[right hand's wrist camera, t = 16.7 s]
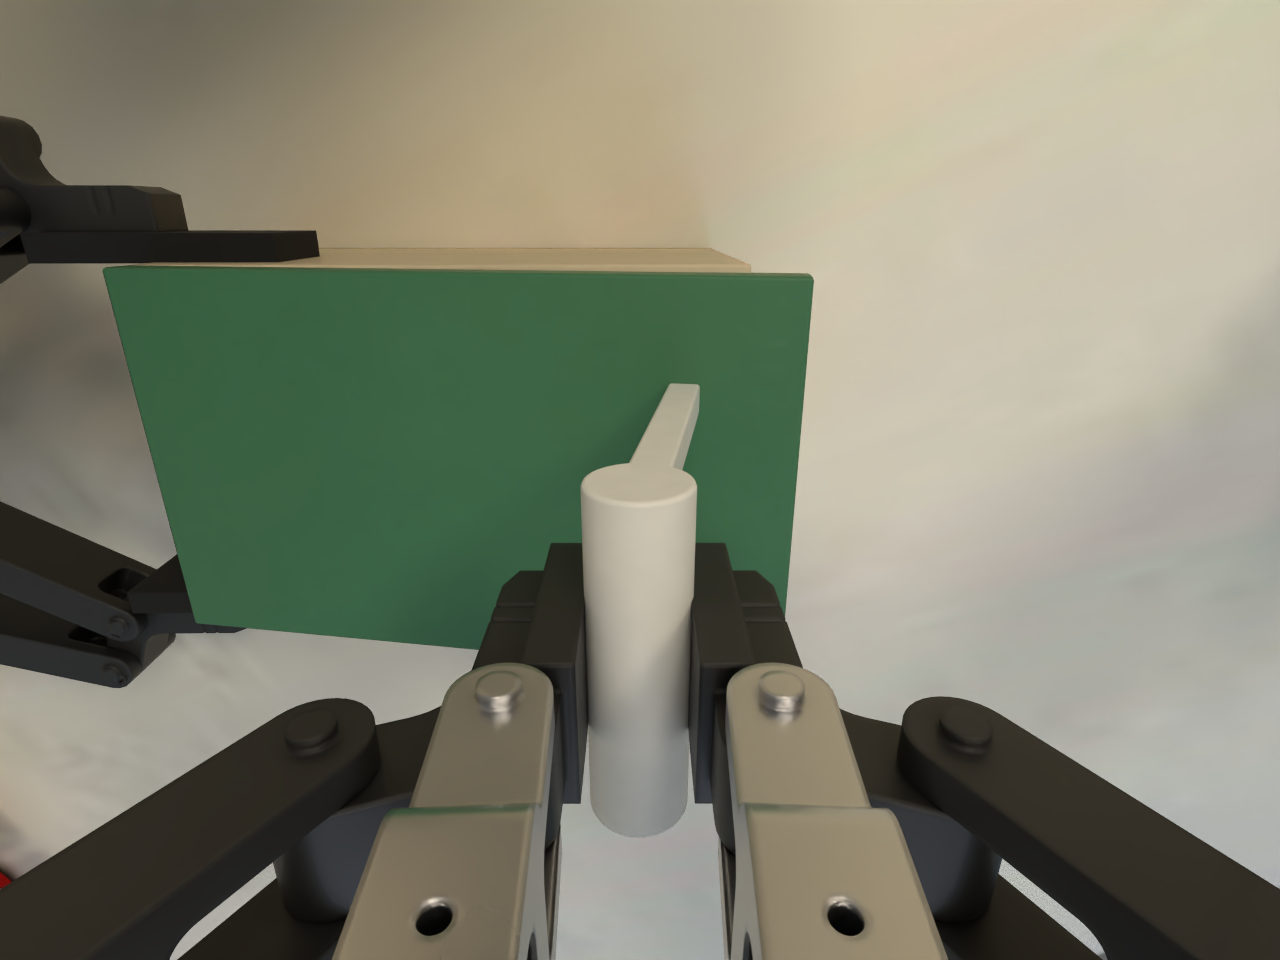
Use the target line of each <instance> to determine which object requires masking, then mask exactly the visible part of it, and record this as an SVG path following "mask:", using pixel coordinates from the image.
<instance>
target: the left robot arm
mask: <svg viewBox="0 0 1280 960" xmlns="http://www.w3.org/2000/svg"><path fill="white" fill-rule="evenodd" d="M41 153H42V144H41V141H40V139H39V136H38V134H37V133H36V132H35V130H34V129H33V128H32V127H31V126H30V125H29V124H27V123H26V122H25V121H22V120H19V119H16V118H10V117H4V116H0V284H1V283H3V282H4V281H5V280H7V279H8V278H10V277H11V276H12V275H14V274H15V273H17V272H18V271H19V270H21V269H22V268H24V267H25V266H26V265H28V264H29V263H194V262H284V261H291V260H298V259H306V258H313V257H320V254H319V247H318V241H317V234H316V231H188V227H187V222H186V218H185V213H184V208H183V204H182V199H181V195H179V194H176V193H174V192H171V191H169V190H166V189H164V188H161V187H144V186H68V185H65V184H62V183H61V182H59V181H58V180H56V179H55V178H54V177H53V176H52V175H51V174H50V173H49V172H48V171H47V169H46V168H45V167H44V165H43V164H42V162H41V160H40V159H39V157H40V155H41ZM243 629H246V628H242V627H231V626H221V625H210V624H199V623H196V622H195V619H194V615H193V611H192V607H191V603H190V600H189V596H188V592H187V588H186V585H185V581H184V577H183V573H182V569H181V566H180V562H179V558H178V554H177V555H176V556H174V557H173V558H172V559H170V560H169V561H168V562H166V563H165V564H164V565H162V566H161V567H160V568H159V569H154V568H152V567H150V566H147V565H145V564H143V563H141V562H138V561H136V560H134V559H131V558H129V557H127V556H124V555H122V554H120V553H118V552H115V551H113V550H111V549H108V548H106V547H104V546H101V545H99V544H97V543H95V542H92V541H90V540H88V539H85V538H83V537H81V536H78V535H76V534H74V533H72V532H69V531H67V530H65V529H62V528H60V527H58V526H55V525H53V524H51V523H48V522H46V521H44V520H42V519H39V518H37V517H35V516H32V515H30V514H28V513H25V512H23V511H21V510H19V509H16V508H14V507H12V506H9V505H7V504H5V503H2V502H0V664H2V665H7V666H12V667H16V668H21V669H26V670H31V671H36V672H40V673H45V674H50V675H55V676H60V677H64V678H69V679H74V680H79V681H83V682H88V683H93V684H98V685H103V686H107V687H112V688H122V687H125V686H127V685H128V684H129V683H130V682H131V681H132V680H133V679H134V678H136V677H137V676H138V675H139V674H140V673H141V672H142V671H143V670H144V669H145V668H146V667H147V666H149V665H150V664H151V663H152V662H153V661H154V660H155V659H156V658H157V657H158V656H159V655H160V654H161V653H162V652H163V651H164V650H165V649H166V648H167V647H168V646H169V645H170V644H171V643H173V642H174V640H175V637H176V635H175V633H204V632H206V633H216V632H218V633H235V632H238V631H241V630H243Z"/></svg>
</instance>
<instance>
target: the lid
mask: <svg viewBox="0 0 1280 960" xmlns="http://www.w3.org/2000/svg"><path fill="white" fill-rule="evenodd" d="M103 274H104V278H105V282H106V285H107V289H108V293H109V297H110V301H111V304H112V308H113V312H114V316H115V319H116V323H117V327H118V331H119V335H120V338H121V342H122V346H123V350H124V354H125V357H126V361H127V365H128V369H129V372H130V376H131V380H132V384H133V388H134V391H135V395H136V399H137V403H138V407H139V410H140V414H141V418H142V422H143V425H144V429H145V433H146V437H147V441H148V444H149V448H150V452H151V456H152V460H153V463H154V467H155V471H156V475H157V478H158V482H159V486H160V490H161V494H162V497H163V501H164V505H165V509H166V513H167V516H168V520H169V524H170V528H171V531H172V535H173V539H174V543H175V547H176V550H177V554H178V558H179V562H180V566H181V569H182V573H183V577H184V581H185V585H186V588H187V592H188V596H189V600H190V603H191V607H192V611H193V615H194V619H195V622H196V623H199V624H210V625H221V626H231V627H242V628H252V629H263V630H274V631H284V632H295V633H306V634H316V635H327V636H337V637H348V638H359V639H369V640H380V641H391V642H401V643H412V644H422V645H433V646H444V647H454V648H465V649H476V650H479V649H480V646H481V643H482V640H483V638H484V635H485V632H486V629H487V627H488V624H489V622H490V621H491V616H492V613H493V610H494V607H496V602H497V599H498V596H499V594H500V591H501V588H502V586H503V585H504V584H505V583H506V582H507V581H508V580H510V579H511V578H512V577H513V576H514V575H515V574H517V573H518V572H519V571H544V567H545V563H546V559H547V556H548V552H549V548H550V545H551V543H582V551H583V581H584V601H585V632H586V663H587V694H588V734H589V765H590V795H591V805H592V808H593V811H594V813H595V815H596V816H597V818H598V819H599V820H600V822H601V823H602V824H603V825H604V826H606V827H607V828H608V829H610V830H612V831H613V832H616V833H618V834H621V835H624V836H629V837H649V836H654V835H657V834H660V833H662V832H664V831H666V830H668V829H669V828H671V827H672V826H673V825H675V824H676V823H677V822H678V820H679V819H680V818H681V816H682V815H683V813H684V811H685V808H686V805H687V793H688V761H689V732H688V713H689V680H690V648H691V615H692V600H693V597H694V570H695V543H725V544H726V547H727V551H728V555H729V559H730V563H731V567H732V570H756V571H757V572H759V573H760V574H761V575H762V576H763V577H764V578H765V579H767V580H768V581H769V582H770V583H771V584H772V585H774V588H775V591H776V593H777V596H778V599H779V602H780V607H781V608H782V610H783V613H784V616H785V610H786V598H787V587H788V575H789V563H790V552H791V540H792V528H793V517H794V505H795V493H796V482H797V470H798V458H799V447H800V435H801V423H802V412H803V400H804V388H805V377H806V365H807V353H808V342H809V330H810V319H811V307H812V295H813V284H814V280H813V277H812V276H811V275H810V274H802V273H720V272H638V271H556V270H474V269H392V268H310V267H228V266H146V265H128V266H116V267H106V268H104V269H103Z"/></svg>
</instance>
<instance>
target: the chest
mask: <svg viewBox="0 0 1280 960" xmlns="http://www.w3.org/2000/svg"><path fill="white" fill-rule="evenodd" d="M319 254H320V257H313V258H306V259H298V260H291V261H284V262H194V263H145V264H136V265H146V266H228V267H310V268H392V269H474V270H556V271H638V272H720V273H751V266H750V265H749V264H747V263H745V262H742V261H740V260H737V259H735V258H732V257H730V256H728V255H725V254H723V253H720V252H718V251H716V250H713V249H711V248H345V249H319Z"/></svg>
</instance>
